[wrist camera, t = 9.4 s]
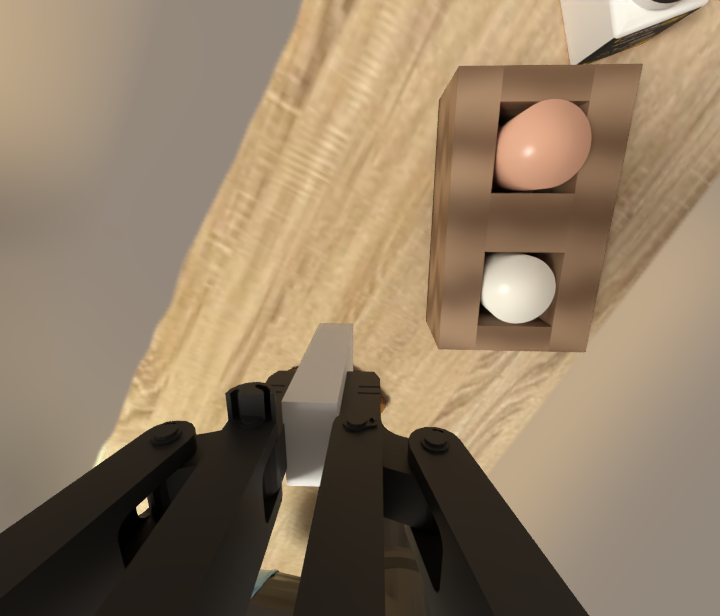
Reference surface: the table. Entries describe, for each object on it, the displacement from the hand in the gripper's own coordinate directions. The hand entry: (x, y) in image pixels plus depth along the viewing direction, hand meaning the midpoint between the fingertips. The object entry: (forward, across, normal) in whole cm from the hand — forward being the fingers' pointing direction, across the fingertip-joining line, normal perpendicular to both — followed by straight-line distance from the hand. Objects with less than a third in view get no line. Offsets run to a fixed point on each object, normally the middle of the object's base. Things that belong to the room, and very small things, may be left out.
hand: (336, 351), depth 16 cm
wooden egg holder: (+26, -15, -5) cm, 31 cm away
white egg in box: (+25, -15, +1) cm, 30 cm away
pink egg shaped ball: (+24, -15, -11) cm, 30 cm away
